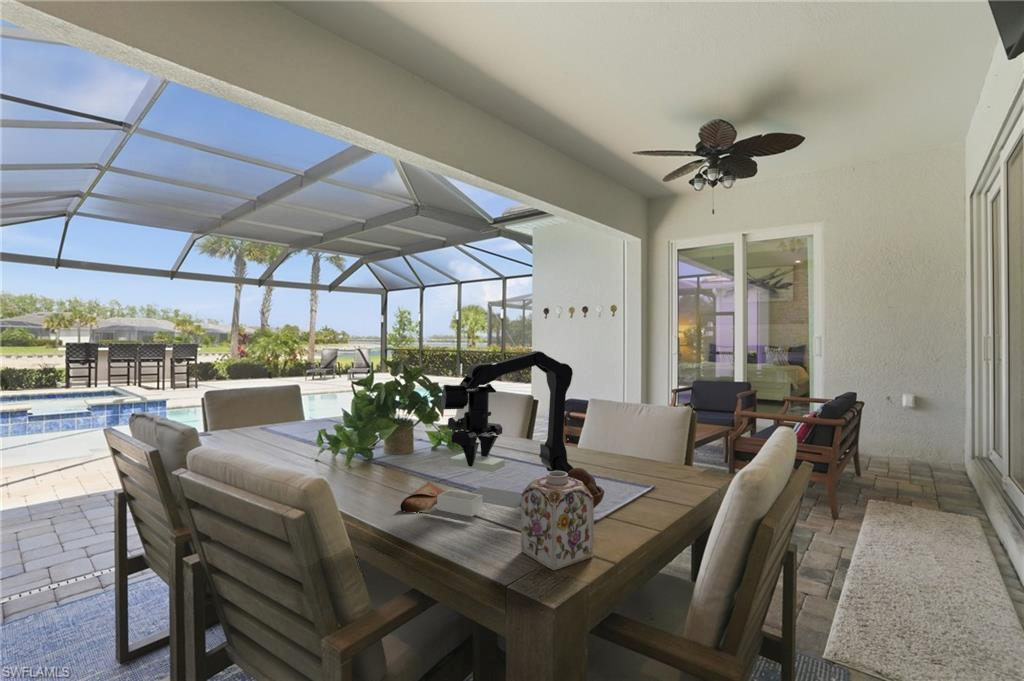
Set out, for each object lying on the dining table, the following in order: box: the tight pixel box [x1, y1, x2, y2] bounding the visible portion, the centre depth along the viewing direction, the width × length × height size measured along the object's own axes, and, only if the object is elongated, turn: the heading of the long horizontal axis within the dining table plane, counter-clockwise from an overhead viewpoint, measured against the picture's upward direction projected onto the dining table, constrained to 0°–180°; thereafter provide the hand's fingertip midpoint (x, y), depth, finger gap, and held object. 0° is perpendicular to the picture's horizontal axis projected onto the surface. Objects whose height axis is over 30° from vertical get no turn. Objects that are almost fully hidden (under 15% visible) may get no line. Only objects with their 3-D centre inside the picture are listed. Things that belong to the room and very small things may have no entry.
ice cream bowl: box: [567, 467, 605, 509], centre depth 122 cm, size 11×11×15 cm
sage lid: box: [449, 452, 506, 473], centre depth 138 cm, size 14×7×2 cm, turn 62°
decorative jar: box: [520, 471, 595, 572], centre depth 107 cm, size 12×12×18 cm
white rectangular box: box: [436, 489, 484, 517], centre depth 133 cm, size 11×6×4 cm, turn 63°
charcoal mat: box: [469, 486, 522, 509], centre depth 144 cm, size 18×12×1 cm, turn 63°
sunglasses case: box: [399, 481, 446, 514], centre depth 141 cm, size 18×7×7 cm
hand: (477, 463), depth 138 cm, fingers closed on sage lid, 7 cm apart
